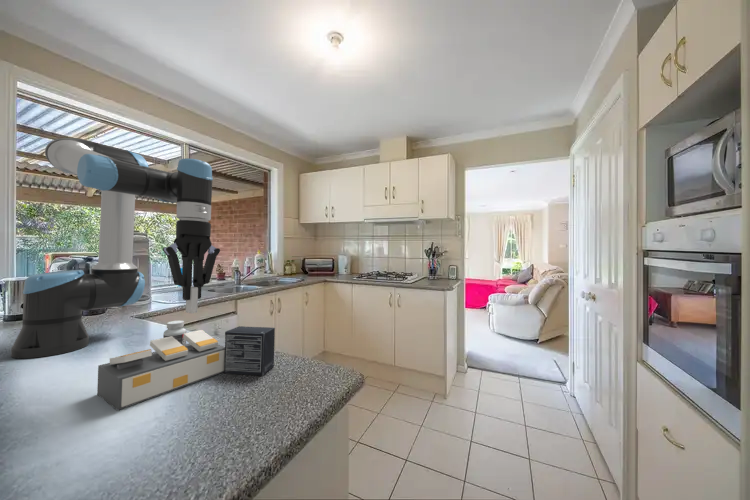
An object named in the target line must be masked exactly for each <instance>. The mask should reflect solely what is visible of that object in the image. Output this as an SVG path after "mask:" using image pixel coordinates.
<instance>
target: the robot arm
mask: <svg viewBox="0 0 750 500" xmlns="http://www.w3.org/2000/svg"><path fill="white" fill-rule="evenodd" d="M44 155H45V158H46V159H47V161H48V163H49V164H50V165H52V166H53V167H54V168H56V169H57V170H59V171H61V172H64V173H65V174H69V175H70V174H71V175H74V176H77V179H78V182H79V183H80V185H82V186H84V187H87V188H91V189H95V190H100V192H101V197H100V200H101V201H100V219H99V220H100V221H99V239H98V241H99V242H98V257H97V258H98V260H97V261H98V262H97V263H96V264H95V265H93V266H92V267H91V270H90V271H91V272H90V273H85V272H84V270H83V269H70V270H58V271H57V270H56V271H49V272H42V273H37V274H33V275H29V276H27V278H26V279H25V281H24V285H23V291H22V294H23V299H22V300H23V303H22V304H23V305H22V307H23V308H22V327H21V328H20V331H19V332H18V335H17V337H16V338H15V341H14V342H13V344H12V346H11V348H10V349H11V350H10V357H11V358H13V359H14V358H15V359H34V358H41V357H42V358H43V357H50V356H55V355H60V354H65V353H70V352H74V351H78V350H81V349H82V348H85V347H87V346H88V345H89V343H90V336H89V334H88V332H87V329H86V328H85V325H84V323H83V311H92V310H99V309H106V308H116V307H117V308H122V307H124V306H125V307H126V306H131V305H134V304H136V303H137V302H138V301H140V299H141V298H142V296H143V294H144V291H145V286H146V280H145V275H144V274H143V273H142V272H141V271H138V269H139V268H138V266H137V265H135V264H134V263H133V257H134V234H135V231H134V230H135V209H136V196H139V197H140V196H141V197H145V198H150V199H151V198H152V199H157V200H159V201H160V202H162V203H163V202H164V203H173V204H174V203H176V213H175V214H176V216H175V217H176V218H177V220H176V222H175V239H174V240H173V243H171V244H169V245H168V246H164V247H162V251H163V252H164V254H165V255H166V257H167V261H168V265H169V268H170V272H171V277H172V281H173V284H174V285H175V286H179V287H181V288H182V300H183V301H185V313H188V314H196V313H197V314H198V309H199V308H198V306H199V304H198V302H199V300H200V299H201V298H202V288H203V287H204V285H206V284H209V283H210V281H211V278H212V274H213V269H214V267H215V262H216V260H217V259H216V258H217V257H218V255H219V253H220V252H221V249H220V248H219V247H218V248H217V247H215V246H214V245H213V244H212V241H211V232H212V229H211V228H212V224H211V223H210V221H211V220H212V197H213V196H212V193H213V180H214V178H213V168H212V166H211V164H209V162H206V161H203V160H200V159H195V158H180V159H179V160H178V162H177V168H176V170H177V171H175V172H171V171H165V170H161V169H157V168H152V167H149V164H148V162H147V160H146V159H145V157H144V156H143V155H141V154H138V153H136V152H132V151H130V150H129V149H128V150H127V149H122V148H119V147H114V146H111V145H106V144H103V143H98V142H95V141H92V140H88V139H83V138H76V137H62V138H61V137H60V138H57V139H53V140H51V141H50V142H49V143H48V144H46V146H45V149H44ZM178 251H179V252H180V255H181V260H182V268H181V265H180V261H179V257H178V254H177V253H178ZM206 253H207V256H206V258H205V254H206ZM204 261H205V262H204Z"/></svg>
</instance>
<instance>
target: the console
mask: <svg viewBox="0 0 750 500" xmlns="http://www.w3.org/2000/svg"><path fill="white" fill-rule="evenodd" d="M183 346H185V347H186V348H187V349H188V355H185V356H182V357H178V358H175V359H171V360H167V361H165V360H164V359H163V358H162V357H161V356H160V355H159V354H158V353H157V352H156V351H152V356H148V357H144V358H141V359H137V360H133V361H129V362H124V363H117V364H110V362H106V363H104V364H100V365H97V366H98V368H97V387H96V388H97V393H96V395H97V396H99V397H100V398H101V399H102V400H103V401H104V402H106V403H108V404H109V405H110V406H111V407H112V408H114V409H115V410H116V411H120V410H123V409H125V408H129V407H131V406H134V405H136V404H140V403H142V402H145V401H148V400H150V399H154V398H157V397H159V396H162V395H164V394H168V393H169V392H172V391H175V390H179V389H181V388H184V387H186V386H190V385H192V384H194V383H197V382H200V381H203V380H206V379H210V378H211V377H212V378H213V377H214V376H217V375H219V374H222V373H224V364H225V363H224V362H225V346H223V345H220V344H218V347H215V348H211V349H207V350H204V351H200V352H199V351H198V350H197V349H195V348H194V347H193V346H192V345H191V344H190V343H186V344H185V345H183Z"/></svg>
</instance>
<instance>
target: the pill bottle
mask: <svg viewBox="0 0 750 500" xmlns="http://www.w3.org/2000/svg"><path fill="white" fill-rule="evenodd" d="M184 325H185V321H184V320H173V321H172V320H171V321H168V322H167V323H166V329H167V330H165V331H163V337H162V338H166V337H170V336H173V337H174V338H175V339H176V340H177V341H178V342H179V343H181V344H182V345H185V344H187V341H186V340H185V339H184V338H183V335H184V333H187V329H186V328H184Z"/></svg>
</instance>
